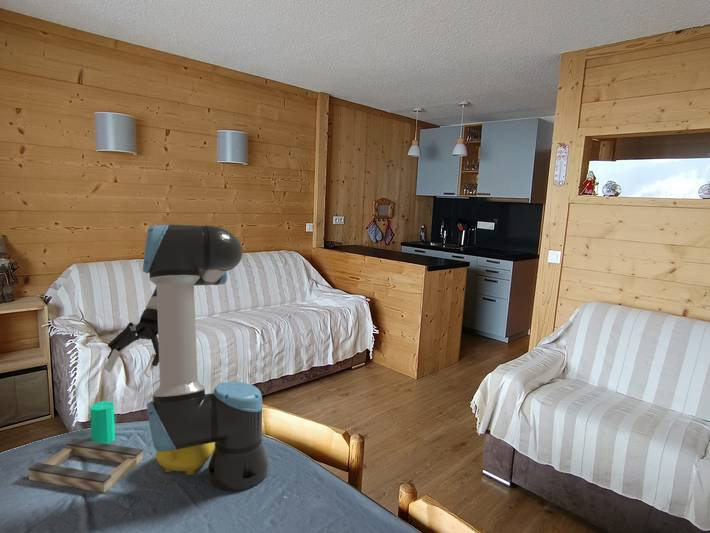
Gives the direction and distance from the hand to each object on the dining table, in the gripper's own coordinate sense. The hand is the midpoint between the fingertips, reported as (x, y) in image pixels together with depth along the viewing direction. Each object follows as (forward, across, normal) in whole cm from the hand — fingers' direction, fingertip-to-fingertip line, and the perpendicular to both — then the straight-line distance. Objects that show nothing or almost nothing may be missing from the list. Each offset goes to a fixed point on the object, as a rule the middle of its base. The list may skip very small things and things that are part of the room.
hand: (126, 372), depth 135 cm
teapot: (+22, -29, -1) cm, 36 cm away
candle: (+19, 0, -4) cm, 19 cm away
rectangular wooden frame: (+28, -7, +5) cm, 29 cm away
